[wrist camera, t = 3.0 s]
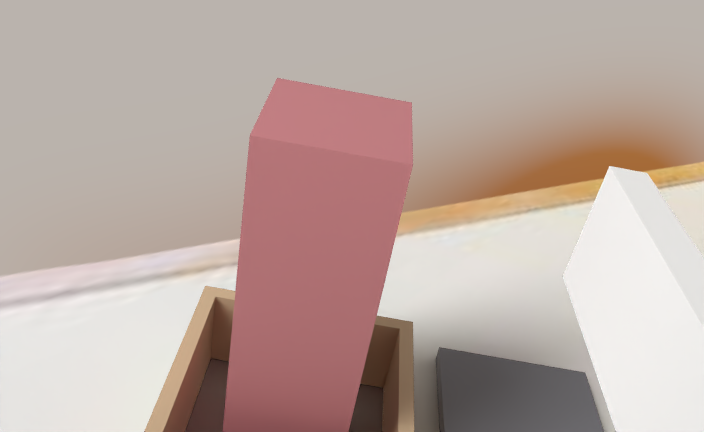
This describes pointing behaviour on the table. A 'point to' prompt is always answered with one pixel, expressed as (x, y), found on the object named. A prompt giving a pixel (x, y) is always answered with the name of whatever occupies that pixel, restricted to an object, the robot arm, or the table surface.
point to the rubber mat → (511, 396)
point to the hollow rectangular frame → (214, 342)
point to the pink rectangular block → (313, 254)
